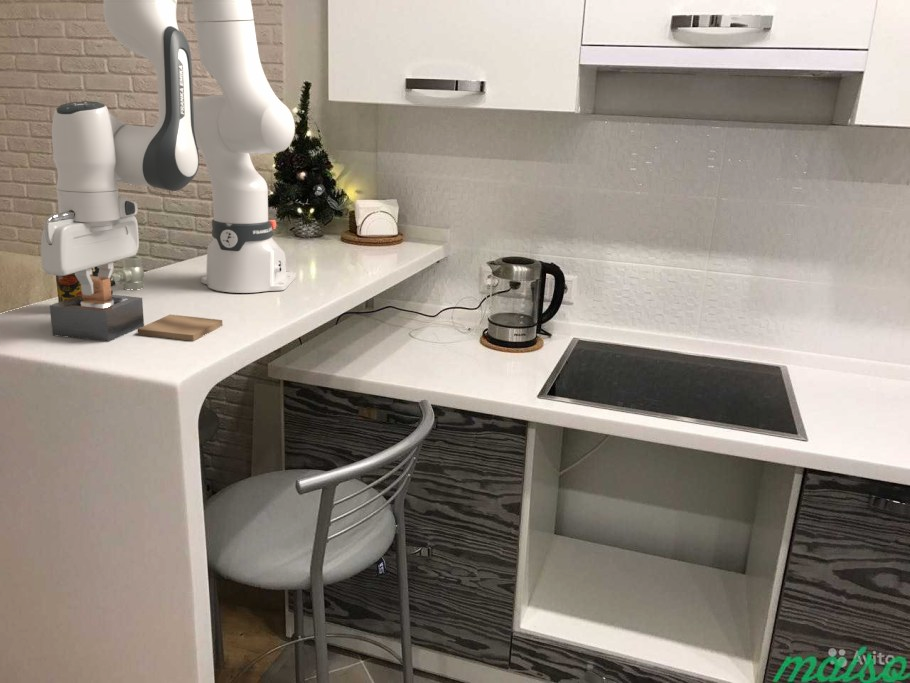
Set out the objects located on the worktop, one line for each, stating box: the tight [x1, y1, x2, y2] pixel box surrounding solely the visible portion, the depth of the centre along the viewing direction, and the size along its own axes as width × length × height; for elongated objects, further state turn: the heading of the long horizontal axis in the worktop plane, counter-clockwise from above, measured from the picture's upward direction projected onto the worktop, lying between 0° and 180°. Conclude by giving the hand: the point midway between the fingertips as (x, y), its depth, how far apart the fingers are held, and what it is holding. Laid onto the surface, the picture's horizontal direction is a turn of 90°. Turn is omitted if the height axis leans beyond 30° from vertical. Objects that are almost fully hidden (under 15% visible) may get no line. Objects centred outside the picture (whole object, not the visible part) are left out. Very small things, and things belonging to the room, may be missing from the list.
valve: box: [92, 255, 145, 295], centre depth 151 cm, size 7×7×12 cm
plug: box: [81, 276, 114, 308], centre depth 125 cm, size 5×5×9 cm
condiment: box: [55, 268, 94, 303], centre depth 137 cm, size 7×8×12 cm
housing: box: [49, 294, 145, 343], centre depth 126 cm, size 10×10×5 cm
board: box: [137, 314, 223, 342], centre depth 129 cm, size 10×10×1 cm
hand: (96, 292), depth 124 cm, fingers closed on plug
